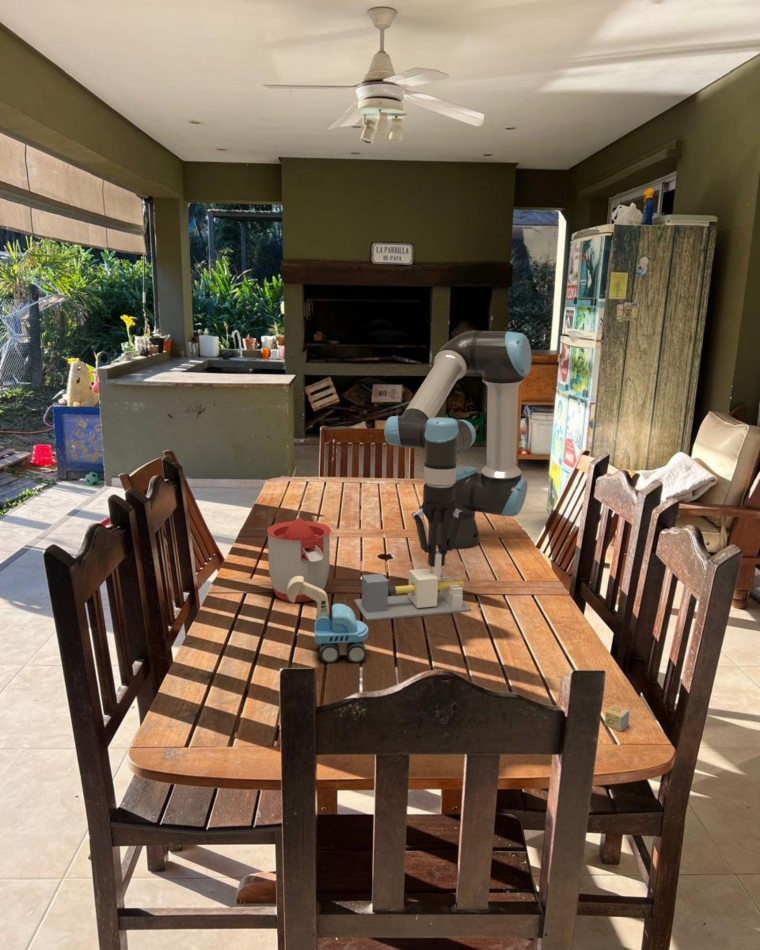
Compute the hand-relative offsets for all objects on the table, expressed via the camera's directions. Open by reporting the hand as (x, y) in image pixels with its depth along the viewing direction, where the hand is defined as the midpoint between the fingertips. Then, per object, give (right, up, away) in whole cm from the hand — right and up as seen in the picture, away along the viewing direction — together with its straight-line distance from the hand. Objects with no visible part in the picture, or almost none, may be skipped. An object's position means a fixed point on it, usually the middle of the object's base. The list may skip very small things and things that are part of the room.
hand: (435, 578), depth 183 cm
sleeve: (-3, -6, 0) cm, 7 cm away
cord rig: (-6, -7, 0) cm, 9 cm away
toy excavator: (-24, -13, -26) cm, 38 cm away
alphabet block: (+28, -19, -50) cm, 61 cm away
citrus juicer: (-33, -5, +5) cm, 34 cm away
